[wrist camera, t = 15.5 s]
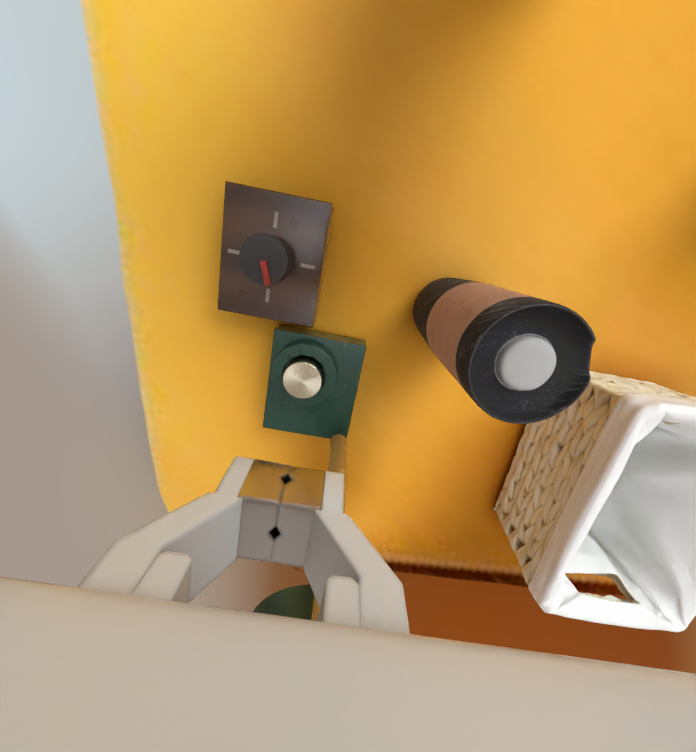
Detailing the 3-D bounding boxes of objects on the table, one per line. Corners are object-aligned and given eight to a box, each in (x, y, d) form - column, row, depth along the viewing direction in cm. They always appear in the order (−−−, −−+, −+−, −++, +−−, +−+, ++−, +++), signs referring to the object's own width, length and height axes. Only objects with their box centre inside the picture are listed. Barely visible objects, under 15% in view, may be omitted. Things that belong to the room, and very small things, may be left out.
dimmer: (235, 186, 35) (224, 180, 32) (333, 207, 35) (332, 203, 32) (227, 305, 39) (216, 309, 36) (315, 321, 40) (312, 327, 37)
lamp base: (279, 323, 40) (270, 332, 35) (365, 340, 40) (367, 350, 36) (267, 417, 44) (258, 435, 39) (346, 430, 44) (345, 449, 40)
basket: (547, 348, 40) (650, 400, 26) (678, 374, 41) (843, 437, 27) (481, 512, 48) (533, 617, 35) (591, 530, 49) (685, 640, 35)
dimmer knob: (244, 238, 34) (232, 237, 30) (289, 231, 33) (282, 229, 30) (254, 284, 35) (244, 288, 32) (297, 279, 35) (291, 282, 31)
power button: (288, 354, 37) (285, 358, 35) (325, 360, 37) (324, 366, 35) (283, 388, 38) (280, 395, 36) (319, 395, 38) (318, 401, 36)
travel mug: (396, 316, 39) (438, 378, 20) (443, 259, 37) (538, 270, 18) (445, 356, 41) (527, 448, 22) (493, 304, 39) (628, 357, 20)
